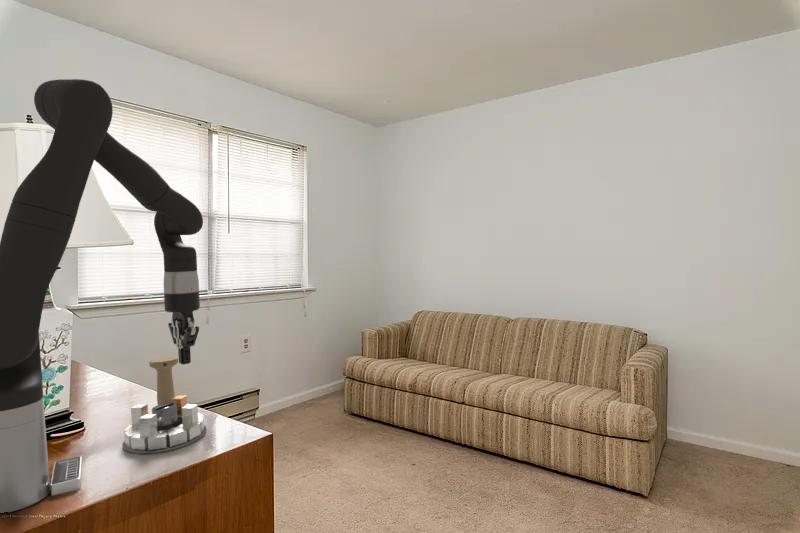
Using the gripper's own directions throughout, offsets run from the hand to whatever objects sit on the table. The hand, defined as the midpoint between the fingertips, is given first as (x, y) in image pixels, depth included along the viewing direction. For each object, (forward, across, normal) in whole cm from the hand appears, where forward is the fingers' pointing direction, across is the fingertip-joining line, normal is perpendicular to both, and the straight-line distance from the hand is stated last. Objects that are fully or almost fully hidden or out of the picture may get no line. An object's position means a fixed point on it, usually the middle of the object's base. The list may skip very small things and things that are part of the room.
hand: (184, 363), depth 112 cm
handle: (+16, +11, +1) cm, 19 cm away
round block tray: (+16, -2, +6) cm, 17 cm away
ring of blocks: (+16, -2, +6) cm, 17 cm away
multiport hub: (+16, -8, +25) cm, 31 cm away
